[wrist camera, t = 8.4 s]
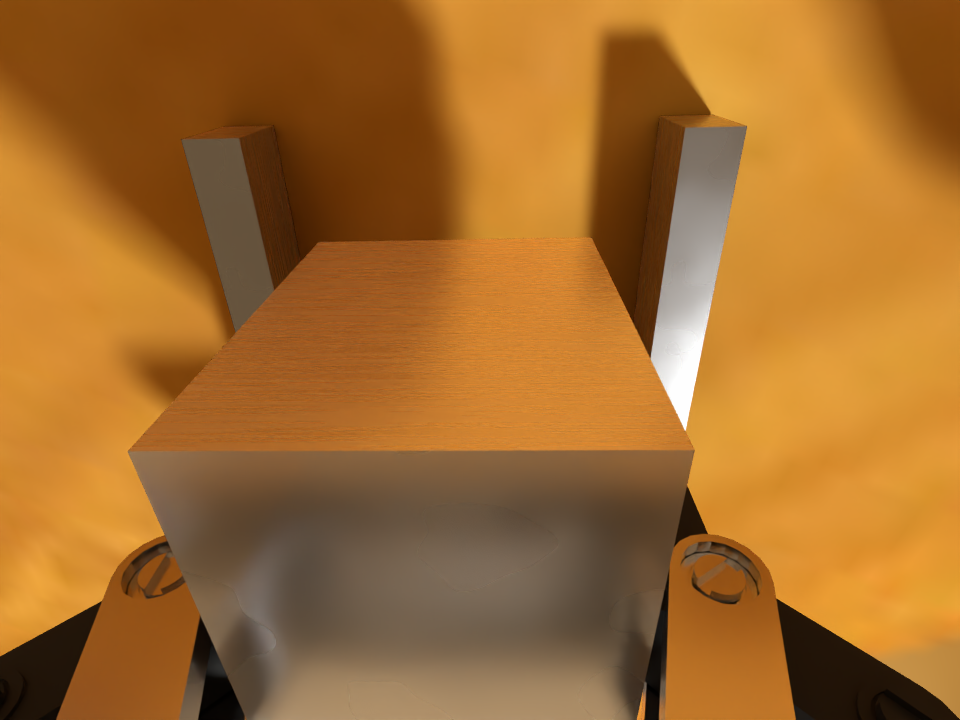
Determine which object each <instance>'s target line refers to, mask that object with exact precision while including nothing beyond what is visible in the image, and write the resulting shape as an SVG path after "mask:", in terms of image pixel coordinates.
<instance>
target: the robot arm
mask: <svg viewBox="0 0 960 720" xmlns="http://www.w3.org/2000/svg"><path fill="white" fill-rule="evenodd" d="M0 720H247V719H246V717H245V715H244V712H243V710H242V708H241V706H240V703H239V701H238V699H237V697H236V694H235V692H234V690H233V688H232V685H231V683H230V681H229V679H228V676H227V674H226V672H225V670H224V667H223V665H222V663H221V661H220V658H219V656H218V654H217V652H216V649H215V647H214V645H213V643H212V640H211V638H210V636H209V634H208V631H207V629H206V627H205V625H204V622H203V620H202V618H201V616H200V613H199V611H198V609H197V607H196V604H195V602H194V600H193V598H192V595H191V593H190V591H189V589H188V586H187V584H186V582H185V579H184V577H183V575H182V573H181V570H180V568H179V566H178V564H177V561H176V559H175V557H174V555H173V552H172V550H171V548H170V546H169V543H168V541H167V539H166V537H165V535H164V536H161V537H158V538H155V539H153V540H151V541H149V542H147V543H145V544H143V545H142V546H140V547H139V548H138V549H136V550H135V551H133V552H132V553H131V554H129V555H128V556H127V557H126V558H125V559H124V560H123V561H122V562H121V564H120V565H119V566H118V567H117V569H116V571H115V572H114V574H113V576H112V577H111V580H110V582H109V585H108V587H107V590H106V593H105V595H104V598H103V600H102V601H101V602H99V603H98V604H96V605H94V606H92V607H90V608H88V609H87V610H85V611H83V612H81V613H79V614H77V615H76V616H74V617H72V618H70V619H68V620H66V621H65V622H63V623H61V624H59V625H57V626H55V627H54V628H52V629H50V630H48V631H46V632H44V633H43V634H41V635H39V636H37V637H35V638H33V639H32V640H30V641H28V642H26V643H24V644H22V645H21V646H19V647H17V648H15V649H13V650H11V651H9V652H8V653H6V654H4V655H2V656H0ZM641 720H960V719H959V718H958V717H957V716H956V715H955V714H954V713H953V712H952V711H951V710H950V709H949V708H948V707H947V706H946V705H945V704H944V703H943V702H942V701H941V700H939V699H938V698H936V697H935V696H934V695H933V694H931V693H930V692H928V691H927V690H926V689H924V688H923V687H921V686H920V685H918V684H916V683H915V682H913V681H911V680H910V679H908V678H907V677H905V676H903V675H901V674H900V673H898V672H897V671H895V670H893V669H891V668H890V667H888V666H887V665H885V664H883V663H882V662H880V661H879V660H877V659H875V658H874V657H872V656H870V655H869V654H867V653H865V652H864V651H862V650H860V649H859V648H857V647H855V646H854V645H852V644H851V643H849V642H847V641H846V640H844V639H842V638H841V637H839V636H837V635H836V634H834V633H832V632H831V631H829V630H827V629H826V628H824V627H822V626H821V625H819V624H818V623H816V622H814V621H813V620H811V619H809V618H808V617H806V616H804V615H803V614H801V613H799V612H798V611H796V610H794V609H793V608H791V607H789V606H788V605H786V604H785V603H783V602H781V601H780V600H778V599H776V595H775V588H774V583H773V580H772V577H771V574H770V572H769V570H768V568H767V567H766V566H765V564H764V563H763V562H762V560H761V559H760V558H759V557H758V556H757V555H756V554H754V553H753V552H752V551H751V550H750V549H748V548H747V547H745V546H743V545H742V544H740V543H738V542H736V541H734V540H732V539H728V538H725V537H722V536H719V535H710V534H708V533H707V531H706V529H705V526H704V524H703V522H702V519H701V517H700V515H699V512H698V510H697V508H696V505H695V503H694V500H693V498H692V496H691V493H690V491H689V489H688V486H687V488H686V493H685V497H684V502H683V506H682V511H681V516H680V520H679V525H678V530H677V534H676V539H675V544H674V548H673V553H672V557H671V562H670V567H669V571H668V576H667V581H666V585H665V590H664V595H663V599H662V604H661V608H660V613H659V618H658V622H657V627H656V632H655V636H654V641H653V646H652V650H651V655H650V660H649V664H648V669H647V673H646V678H645V683H644V687H643V700H642V716H641Z"/></svg>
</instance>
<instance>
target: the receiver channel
mask: <svg viewBox="0 0 960 720" xmlns="http://www.w3.org/2000/svg"><path fill="white" fill-rule="evenodd" d="M746 129H747V126H745V125H742V124H739V123H736V122H733V121H730V120H727V119H724V118H721V117H718V116H715V115H678V116H660V118H659V125H658V133H657V141H656V149H655V157H654V165H653V172H652V180H651V188H650V196H649V204H648V212H647V219H646V227H645V235H644V243H643V251H642V259H641V266H640V274H639V282H638V290H637V298H636V306H635V313H634V321H633V324H634V326H635V328H636V330H637V332H638V334H639V336H640V338H641V340H642V343H643V345H644V347H645V349H646V351H647V353H648V355H649V357H650V359H651V361H652V363H653V365H654V367H655V369H656V371H657V373H658V376H659V378H660V380H661V382H662V384H663V386H664V388H665V390H666V392H667V394H668V396H669V398H670V400H671V402H672V404H673V406H674V409H675V411H676V413H677V415H678V417H679V419H680V421H681V423H682V425H683V427H684V429H685V430H686V425H687V420H688V415H689V410H690V405H691V400H692V395H693V390H694V385H695V380H696V376H697V371H698V366H699V361H700V356H701V351H702V346H703V341H704V336H705V331H706V326H707V321H708V316H709V312H710V307H711V302H712V297H713V292H714V287H715V282H716V277H717V272H718V267H719V262H720V257H721V252H722V248H723V243H724V238H725V233H726V228H727V223H728V218H729V213H730V208H731V203H732V198H733V193H734V188H735V184H736V179H737V174H738V169H739V164H740V159H741V154H742V149H743V144H744V139H745V134H746ZM181 140H182V144H183V147H184V151H185V154H186V158H187V162H188V165H189V169H190V172H191V176H192V179H193V183H194V186H195V190H196V194H197V197H198V201H199V204H200V208H201V211H202V215H203V218H204V222H205V226H206V229H207V233H208V236H209V240H210V243H211V247H212V251H213V254H214V258H215V261H216V265H217V268H218V272H219V275H220V279H221V283H222V286H223V290H224V293H225V297H226V300H227V304H228V307H229V311H230V315H231V318H232V322H233V325H234V329H235V332H237V331H238V330H239V329H240V328H241V327H242V325H243V324H244V323H245V322H246V321H247V320H248V319H249V318H250V317H251V316H252V315H253V313H254V312H255V311H256V310H257V309H258V308H259V307H260V306H261V305H262V304H263V302H264V301H265V300H266V299H267V298H268V297H269V296H270V295H271V294H272V293H273V291H274V290H275V289H276V288H277V287H278V286H279V285H280V284H281V283H282V282H283V281H284V279H285V278H286V277H287V276H288V275H289V274H290V273H291V272H292V271H293V270H294V268H295V267H296V266H297V265H298V264H299V263H300V262H301V260H300V255H299V250H298V245H297V240H296V235H295V230H294V225H293V220H292V215H291V210H290V205H289V200H288V195H287V190H286V185H285V180H284V175H283V170H282V165H281V160H280V155H279V150H278V145H277V140H276V135H275V130H274V125H267V126H226V127H221V128H217V129H214V130H211V131H208V132H204V133H201V134H198V135H195V136H191V137H188V138H185V139H181Z"/></svg>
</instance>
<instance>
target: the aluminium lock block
mask: <svg viewBox="0 0 960 720" xmlns="http://www.w3.org/2000/svg"><path fill="white" fill-rule="evenodd" d="M694 451H695V450H694V448H693V446H692V444H691V442H690V439H689V437H688V435H687V433H686V431H685V429H684V427H683V425H682V423H681V421H680V419H679V417H678V415H677V413H676V411H675V409H674V406H673V404H672V402H671V400H670V398H669V396H668V394H667V392H666V390H665V388H664V386H663V384H662V382H661V380H660V378H659V376H658V373H657V371H656V369H655V367H654V365H653V363H652V361H651V359H650V357H649V355H648V353H647V351H646V349H645V347H644V345H643V343H642V340H641V338H640V336H639V334H638V332H637V330H636V328H635V326H634V324H633V322H632V320H631V318H630V316H629V314H628V312H627V310H626V307H625V305H624V303H623V301H622V299H621V297H620V295H619V293H618V291H617V289H616V287H615V285H614V283H613V281H612V279H611V277H610V274H609V272H608V270H607V268H606V266H605V264H604V262H603V260H602V258H601V256H600V254H599V252H598V250H597V248H596V246H595V244H594V241H593V239H592V237H587V238H528V239H469V240H410V241H351V242H318V243H317V244H316V245H315V247H314V248H313V249H312V250H311V251H310V252H309V253H308V254H307V255H306V256H305V258H304V259H303V260H302V261H301V262H300V263H299V264H298V265H297V266H296V267H295V268H294V270H293V271H292V272H291V273H290V274H289V275H288V276H287V277H286V278H285V279H284V281H283V282H282V283H281V284H280V285H279V286H278V287H277V288H276V289H275V290H274V291H273V293H272V294H271V295H270V296H269V297H268V298H267V299H266V300H265V301H264V302H263V304H262V305H261V306H260V307H259V308H258V309H257V310H256V311H255V312H254V313H253V315H252V316H251V317H250V318H249V319H248V320H247V321H246V322H245V323H244V324H243V325H242V327H241V328H240V329H239V330H238V331H237V332H236V333H235V334H234V335H233V336H232V338H231V339H230V340H229V341H228V342H227V343H226V344H225V345H224V346H223V347H222V348H221V350H220V351H219V352H218V353H217V354H216V355H215V356H214V357H213V358H212V359H211V361H210V362H209V363H208V364H207V365H206V366H205V367H204V368H203V369H202V370H201V371H200V373H199V374H198V375H197V376H196V377H195V378H194V379H193V380H192V381H191V382H190V384H189V385H188V386H187V387H186V388H185V389H184V390H183V391H182V392H181V393H180V394H179V396H178V397H177V398H176V399H175V400H174V401H173V402H172V403H171V404H170V405H169V407H168V408H167V409H166V410H165V411H164V412H163V413H162V414H161V415H160V416H159V417H158V419H157V420H156V421H155V422H154V423H153V424H152V425H151V426H150V427H149V428H148V430H147V431H146V432H145V433H144V434H143V435H142V436H141V437H140V438H139V439H138V440H137V442H136V443H135V444H134V445H133V446H132V447H131V448H130V449H129V450H128V453H129V456H130V458H131V460H132V462H133V465H134V467H135V469H136V471H137V474H138V476H139V478H140V480H141V483H142V485H143V487H144V489H145V492H146V494H147V496H148V498H149V501H150V503H151V505H152V507H153V510H154V512H155V514H156V516H157V519H158V521H159V523H160V525H161V528H162V530H163V532H164V534H165V537H166V539H167V541H168V543H169V546H170V548H171V550H172V552H173V555H174V557H175V559H176V561H177V564H178V566H179V568H180V570H181V573H182V575H183V577H184V579H185V582H186V584H187V586H188V589H189V591H190V593H191V595H192V598H193V600H194V602H195V604H196V607H197V609H198V611H199V613H200V616H201V618H202V620H203V622H204V625H205V627H206V629H207V631H208V634H209V636H210V638H211V640H212V643H213V645H214V647H215V649H216V652H217V654H218V656H219V658H220V661H221V663H222V665H223V667H224V670H225V672H226V674H227V676H228V679H229V681H230V683H231V685H232V688H233V690H234V692H235V694H236V697H237V699H238V701H239V703H240V706H241V708H242V710H243V712H244V715H245V717H246V719H247V720H637V715H638V711H639V706H640V701H641V697H642V692H643V687H644V683H645V678H646V673H647V669H648V664H649V660H650V655H651V650H652V646H653V641H654V636H655V632H656V627H657V622H658V618H659V613H660V608H661V604H662V599H663V595H664V590H665V585H666V581H667V576H668V571H669V567H670V562H671V557H672V553H673V548H674V544H675V539H676V534H677V530H678V525H679V520H680V516H681V511H682V506H683V502H684V497H685V493H686V488H687V483H688V479H689V474H690V469H691V465H692V460H693V455H694Z"/></svg>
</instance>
